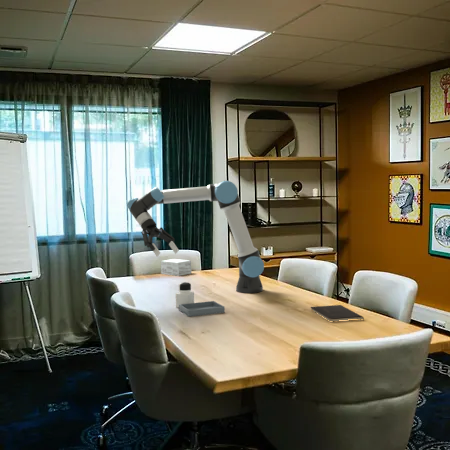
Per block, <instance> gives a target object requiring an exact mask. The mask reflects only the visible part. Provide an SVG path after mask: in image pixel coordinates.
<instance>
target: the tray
mask: <svg viewBox="0 0 450 450" xmlns="http://www.w3.org/2000/svg"><path fill="white" fill-rule="evenodd" d="M178 310H179V311H180V312H181V313H183V314H184V315H185V316H187V317H197V316H205V315H206V316H207V315H214V314H224V313H225V311H226V307H225V306H224V305H222V304H220V303H218V302H216V301H214V300H210V301H200V302H194V303H189V304H179V309H178Z"/></svg>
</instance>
